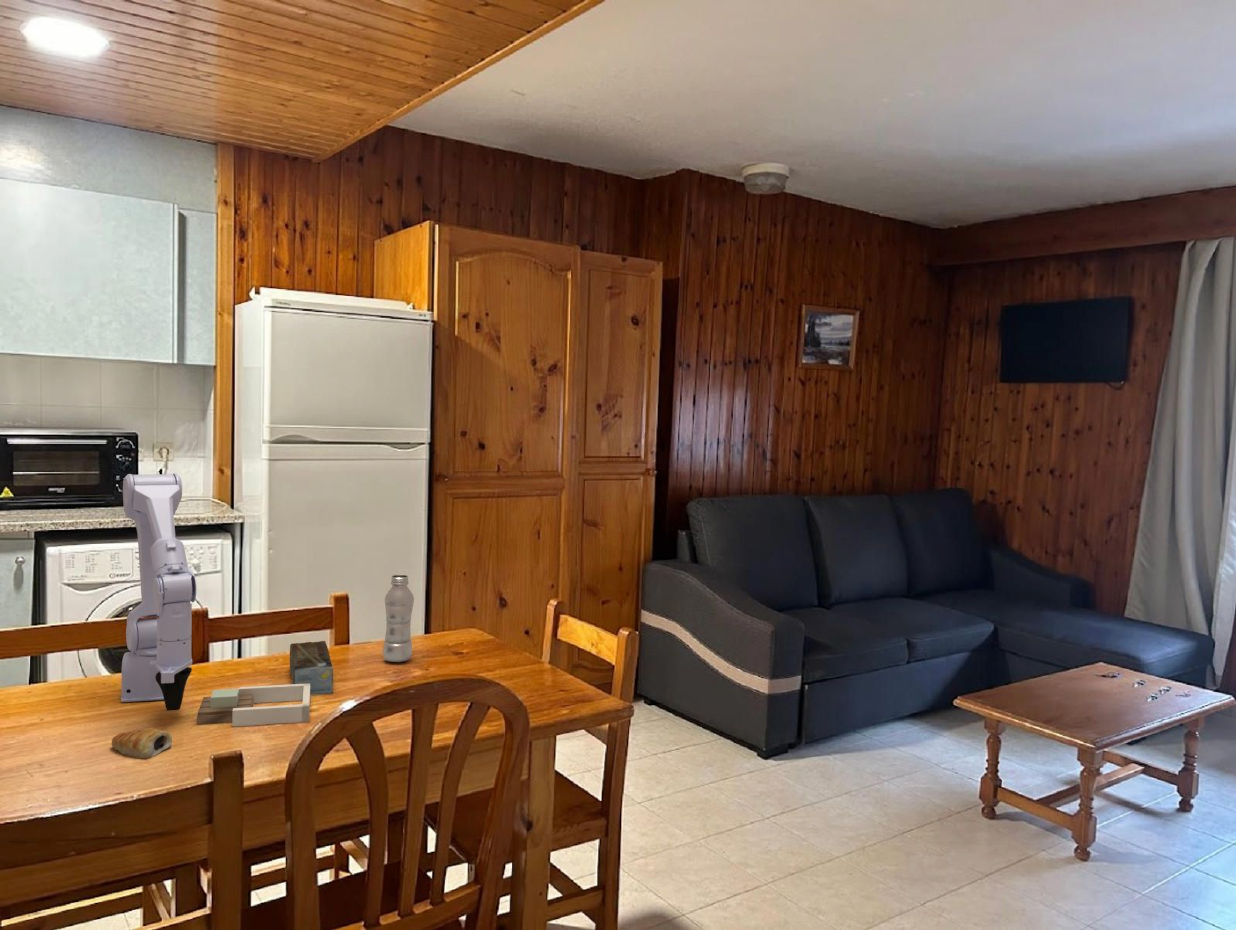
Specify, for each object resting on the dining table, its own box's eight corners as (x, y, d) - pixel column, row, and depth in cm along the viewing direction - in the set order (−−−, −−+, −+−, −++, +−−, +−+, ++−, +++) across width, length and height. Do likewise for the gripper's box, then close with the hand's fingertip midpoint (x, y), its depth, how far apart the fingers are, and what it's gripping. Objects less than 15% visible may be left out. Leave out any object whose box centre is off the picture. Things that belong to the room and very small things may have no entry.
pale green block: (210, 708, 165) (210, 697, 165) (213, 700, 169) (213, 689, 169) (236, 706, 166) (236, 696, 166) (238, 698, 170) (239, 688, 170)
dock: (232, 726, 162) (232, 710, 162) (239, 702, 175) (239, 687, 175) (308, 721, 166) (309, 705, 166) (309, 697, 179) (310, 683, 179)
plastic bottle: (384, 657, 209) (386, 573, 207) (413, 657, 210) (416, 573, 208) (380, 665, 202) (382, 578, 201) (410, 665, 203) (413, 579, 202)
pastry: (100, 754, 148) (100, 731, 148) (131, 739, 155) (131, 718, 155) (147, 761, 146) (148, 739, 146) (177, 747, 153) (177, 725, 153)
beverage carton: (292, 698, 179) (292, 666, 179) (288, 670, 197) (289, 640, 196) (333, 694, 182) (334, 663, 182) (326, 667, 200) (326, 638, 199)
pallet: (196, 727, 162) (196, 712, 162) (202, 710, 171) (203, 696, 171) (249, 724, 165) (250, 709, 165) (253, 707, 174) (253, 693, 173)
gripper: (157, 628, 170) (156, 697, 171) (142, 649, 156) (141, 724, 157) (197, 626, 172) (197, 695, 173) (186, 647, 158) (185, 721, 159)
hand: (173, 709), depth 165 cm, fingers closed
